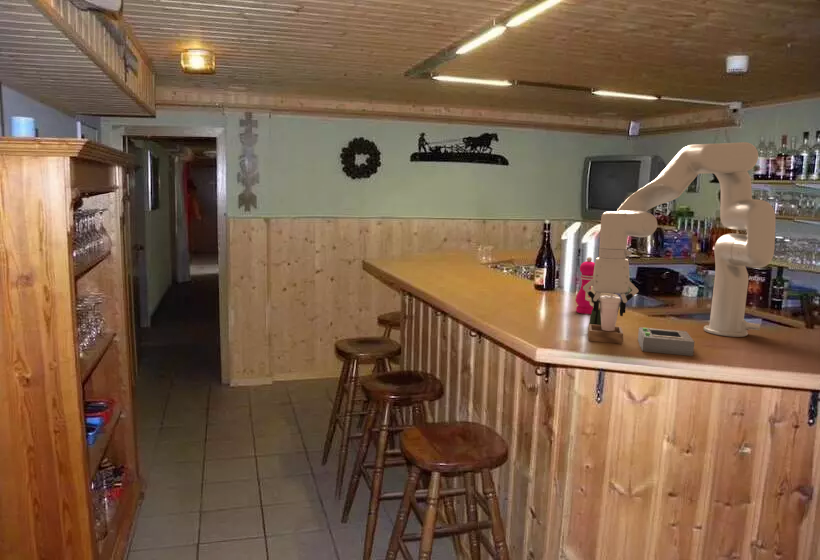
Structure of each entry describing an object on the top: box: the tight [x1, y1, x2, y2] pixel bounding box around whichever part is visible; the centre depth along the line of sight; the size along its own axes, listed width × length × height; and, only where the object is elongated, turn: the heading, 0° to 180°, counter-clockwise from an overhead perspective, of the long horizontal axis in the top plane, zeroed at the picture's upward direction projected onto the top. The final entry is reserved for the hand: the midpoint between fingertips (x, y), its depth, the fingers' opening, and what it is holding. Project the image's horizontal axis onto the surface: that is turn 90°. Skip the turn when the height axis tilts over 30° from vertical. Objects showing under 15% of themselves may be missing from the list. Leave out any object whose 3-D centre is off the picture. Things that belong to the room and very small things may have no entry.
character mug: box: [585, 286, 619, 325], centre depth 202 cm, size 11×7×13 cm, turn 50°
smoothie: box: [599, 293, 622, 331], centre depth 186 cm, size 6×6×14 cm
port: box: [637, 326, 695, 357], centre depth 179 cm, size 13×13×5 cm
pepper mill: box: [575, 256, 595, 315], centre depth 225 cm, size 7×7×20 cm
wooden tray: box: [587, 323, 624, 345], centre depth 187 cm, size 9×9×3 cm
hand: (608, 314), depth 187 cm, fingers closed on smoothie, 6 cm apart
